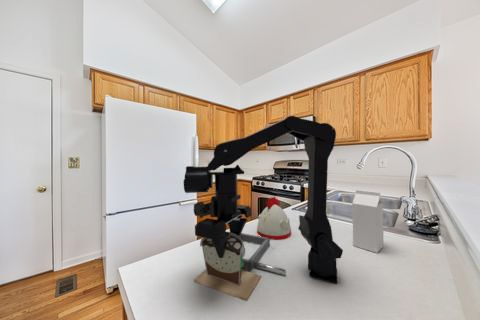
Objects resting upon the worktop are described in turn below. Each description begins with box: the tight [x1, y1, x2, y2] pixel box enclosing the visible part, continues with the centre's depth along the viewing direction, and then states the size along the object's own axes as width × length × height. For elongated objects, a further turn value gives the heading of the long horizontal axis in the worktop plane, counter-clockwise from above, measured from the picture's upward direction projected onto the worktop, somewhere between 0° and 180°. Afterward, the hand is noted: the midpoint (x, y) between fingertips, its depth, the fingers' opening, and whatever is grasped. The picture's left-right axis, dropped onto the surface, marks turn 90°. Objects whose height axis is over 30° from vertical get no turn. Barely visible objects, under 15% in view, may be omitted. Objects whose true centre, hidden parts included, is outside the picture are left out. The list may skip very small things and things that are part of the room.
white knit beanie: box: [256, 196, 292, 241], centre depth 77 cm, size 14×14×15 cm
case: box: [240, 232, 271, 272], centre depth 61 cm, size 12×17×2 cm
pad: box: [193, 269, 262, 302], centre depth 48 cm, size 15×9×1 cm, turn 63°
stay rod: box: [253, 261, 287, 276], centre depth 52 cm, size 10×1×1 cm, turn 63°
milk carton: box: [351, 189, 385, 254], centre depth 64 cm, size 7×7×19 cm
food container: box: [199, 233, 246, 286], centre depth 49 cm, size 12×6×10 cm, turn 65°
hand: (227, 251), depth 48 cm, fingers closed on food container, 6 cm apart
